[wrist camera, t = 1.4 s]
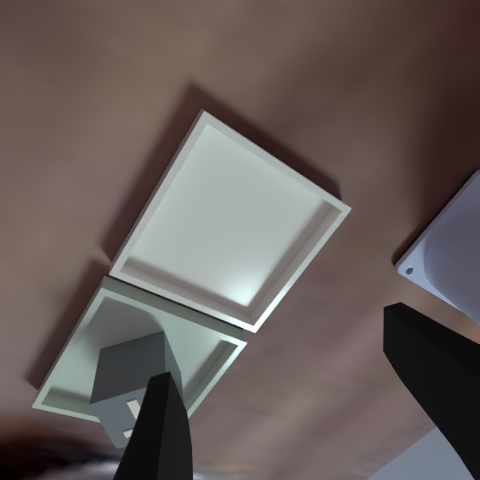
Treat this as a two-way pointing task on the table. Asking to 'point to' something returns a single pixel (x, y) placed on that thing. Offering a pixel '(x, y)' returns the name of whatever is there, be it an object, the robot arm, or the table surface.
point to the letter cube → (129, 382)
